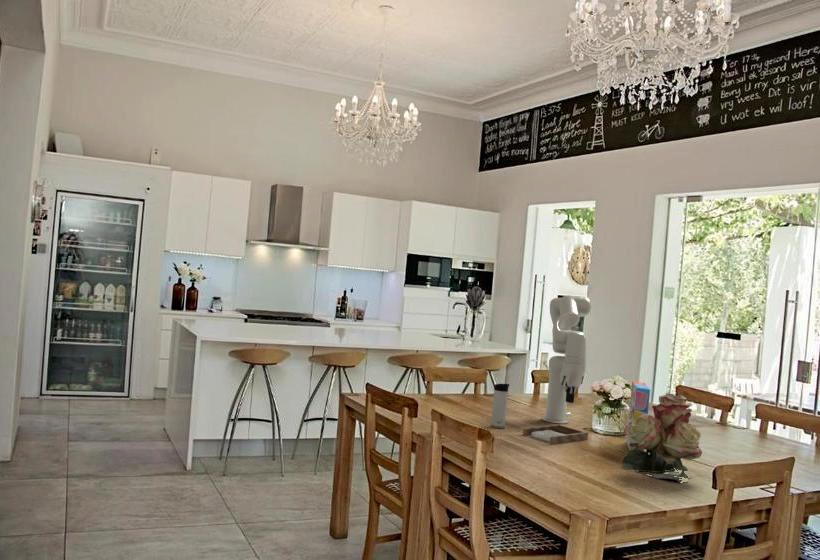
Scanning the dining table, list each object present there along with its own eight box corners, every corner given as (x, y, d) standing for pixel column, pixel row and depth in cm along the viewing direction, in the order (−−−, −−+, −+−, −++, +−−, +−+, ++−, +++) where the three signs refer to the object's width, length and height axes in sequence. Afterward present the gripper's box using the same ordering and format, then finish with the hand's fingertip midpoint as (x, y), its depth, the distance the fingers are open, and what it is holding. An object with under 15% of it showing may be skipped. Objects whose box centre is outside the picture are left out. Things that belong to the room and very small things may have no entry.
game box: (643, 455, 306) (650, 389, 305) (630, 453, 307) (636, 387, 306) (638, 444, 326) (645, 382, 325) (625, 442, 327) (632, 381, 326)
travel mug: (500, 429, 329) (505, 384, 329) (488, 426, 333) (492, 382, 333) (507, 428, 334) (512, 383, 334) (495, 425, 338) (499, 381, 338)
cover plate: (549, 434, 326) (549, 429, 326) (567, 439, 318) (568, 435, 318) (531, 436, 318) (531, 432, 318) (549, 442, 310) (550, 437, 310)
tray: (557, 432, 335) (558, 424, 334) (587, 440, 322) (588, 432, 322) (522, 436, 319) (523, 428, 319) (552, 445, 307) (553, 437, 307)
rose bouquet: (612, 469, 278) (620, 389, 278) (650, 459, 299) (657, 385, 298) (678, 488, 260) (687, 403, 259) (713, 476, 281) (721, 398, 280)
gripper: (576, 359, 332) (572, 400, 332) (555, 359, 323) (551, 401, 323) (590, 361, 327) (586, 403, 327) (570, 361, 317) (566, 404, 317)
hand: (569, 402), depth 325 cm, fingers closed
